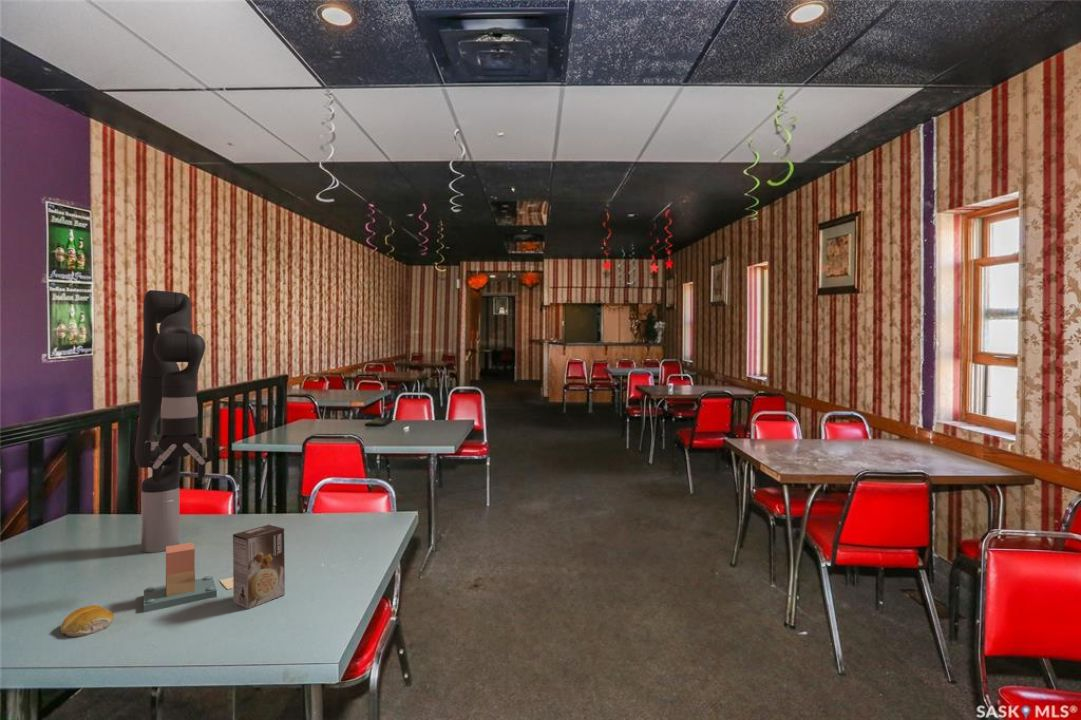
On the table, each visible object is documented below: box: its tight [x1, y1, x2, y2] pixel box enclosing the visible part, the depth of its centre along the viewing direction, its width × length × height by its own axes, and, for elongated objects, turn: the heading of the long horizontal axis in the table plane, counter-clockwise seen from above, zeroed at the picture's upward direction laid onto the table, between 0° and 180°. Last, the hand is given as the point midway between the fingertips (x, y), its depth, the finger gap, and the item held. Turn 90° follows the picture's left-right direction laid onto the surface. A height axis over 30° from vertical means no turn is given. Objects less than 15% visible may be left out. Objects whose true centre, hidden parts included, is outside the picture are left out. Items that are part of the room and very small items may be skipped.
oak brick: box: [165, 569, 196, 597], centre depth 131 cm, size 6×6×5 cm
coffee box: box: [232, 524, 286, 610], centre depth 130 cm, size 9×6×16 cm
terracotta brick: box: [165, 542, 196, 576], centre depth 131 cm, size 6×6×5 cm
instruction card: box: [219, 576, 233, 591], centre depth 141 cm, size 7×10×1 cm
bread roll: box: [60, 604, 115, 638], centre depth 116 cm, size 8×9×4 cm
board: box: [143, 575, 218, 613], centre depth 131 cm, size 10×14×2 cm
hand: (179, 481), depth 135 cm, fingers open, 8 cm apart
